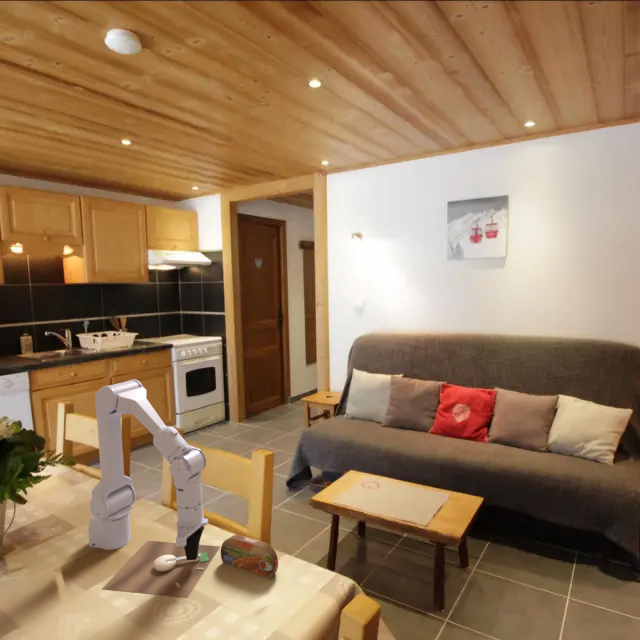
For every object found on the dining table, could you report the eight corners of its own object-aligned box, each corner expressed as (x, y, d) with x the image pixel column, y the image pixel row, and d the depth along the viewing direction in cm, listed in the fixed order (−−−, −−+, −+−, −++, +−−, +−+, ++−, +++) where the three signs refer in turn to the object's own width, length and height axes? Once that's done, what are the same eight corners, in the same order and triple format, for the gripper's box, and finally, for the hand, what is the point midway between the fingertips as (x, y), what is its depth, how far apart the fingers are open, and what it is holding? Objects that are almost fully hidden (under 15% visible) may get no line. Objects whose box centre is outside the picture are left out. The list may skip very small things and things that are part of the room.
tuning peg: (153, 573, 105) (152, 552, 104) (154, 560, 109) (153, 540, 109) (200, 564, 108) (199, 544, 107) (199, 552, 112) (199, 533, 112)
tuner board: (101, 595, 100) (101, 588, 100) (147, 546, 119) (147, 539, 119) (187, 604, 97) (187, 596, 97) (220, 552, 116) (220, 545, 115)
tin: (220, 569, 109) (219, 535, 108) (228, 562, 112) (227, 529, 111) (273, 588, 102) (272, 552, 101) (280, 579, 105) (279, 544, 104)
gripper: (197, 518, 99) (200, 578, 100) (214, 488, 113) (216, 541, 114) (165, 518, 99) (168, 578, 100) (186, 488, 113) (188, 541, 115)
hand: (192, 558), depth 107 cm, fingers closed
